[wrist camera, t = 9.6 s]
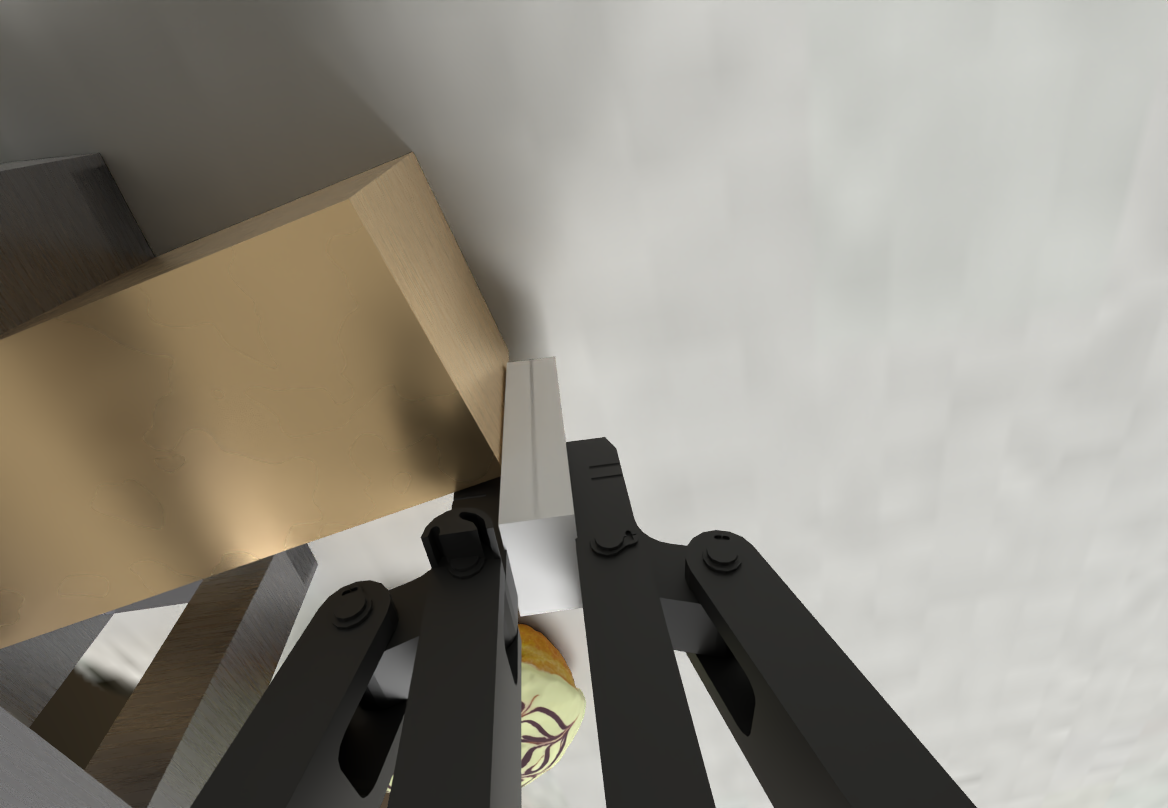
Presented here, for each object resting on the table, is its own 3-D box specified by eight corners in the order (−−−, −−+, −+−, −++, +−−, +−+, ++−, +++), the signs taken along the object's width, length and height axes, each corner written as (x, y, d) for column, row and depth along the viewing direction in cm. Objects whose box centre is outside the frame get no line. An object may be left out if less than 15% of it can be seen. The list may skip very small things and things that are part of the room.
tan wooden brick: (412, 151, 13) (345, 200, 8) (508, 350, 16) (505, 478, 11) (-229, 414, 15) (-630, 595, 10) (-28, 548, 18) (-248, 738, 13)
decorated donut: (620, 659, 26) (635, 739, 23) (483, 751, 30) (480, 833, 26) (451, 575, 22) (440, 661, 18) (311, 696, 25) (282, 786, 22)
